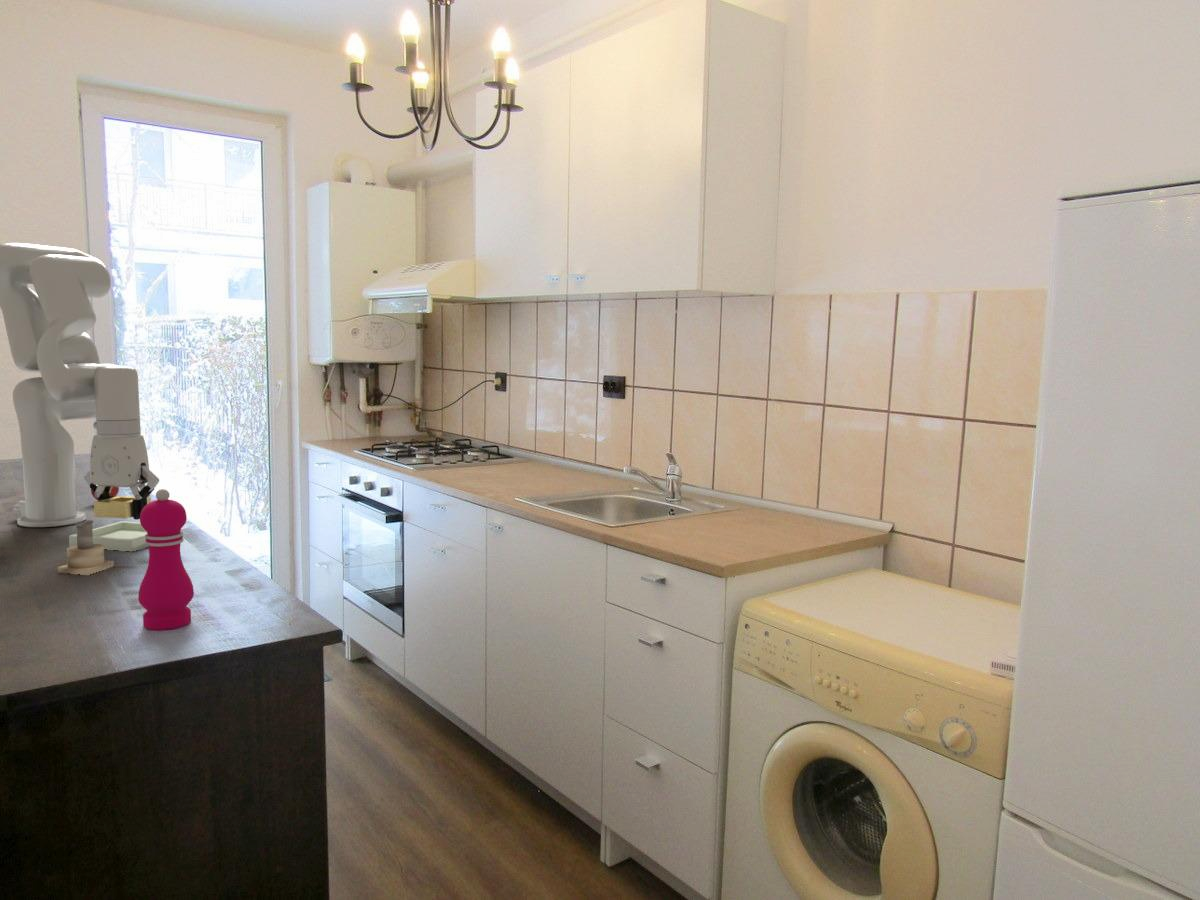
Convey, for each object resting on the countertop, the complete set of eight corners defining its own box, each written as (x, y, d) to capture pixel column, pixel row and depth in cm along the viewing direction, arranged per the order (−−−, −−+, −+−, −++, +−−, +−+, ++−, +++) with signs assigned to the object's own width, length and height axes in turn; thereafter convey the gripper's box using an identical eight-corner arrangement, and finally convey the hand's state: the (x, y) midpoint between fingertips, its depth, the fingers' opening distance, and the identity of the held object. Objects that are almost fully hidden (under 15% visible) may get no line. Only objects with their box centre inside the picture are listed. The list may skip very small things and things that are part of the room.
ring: (94, 516, 165) (93, 501, 165) (128, 508, 174) (127, 493, 173) (125, 518, 164) (125, 503, 163) (158, 510, 172) (157, 495, 172)
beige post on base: (58, 572, 147) (55, 524, 146) (85, 563, 153) (82, 517, 152) (88, 575, 146) (85, 526, 145) (113, 566, 152) (111, 519, 150)
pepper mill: (152, 615, 127) (147, 484, 124) (202, 615, 127) (198, 485, 125) (130, 631, 120) (124, 493, 117) (183, 631, 120) (178, 494, 118)
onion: (106, 506, 201) (104, 473, 200) (85, 505, 202) (84, 472, 201) (124, 502, 207) (123, 470, 206) (104, 500, 208) (102, 469, 207)
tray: (69, 546, 164) (68, 535, 164) (122, 531, 178) (122, 521, 177) (132, 552, 162) (132, 541, 161) (181, 536, 175) (181, 525, 175)
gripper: (65, 428, 163) (70, 518, 166) (144, 431, 160) (148, 523, 163) (95, 425, 171) (99, 511, 173) (171, 428, 168) (175, 515, 170)
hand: (123, 516), depth 168 cm, fingers closed on ring, 7 cm apart
